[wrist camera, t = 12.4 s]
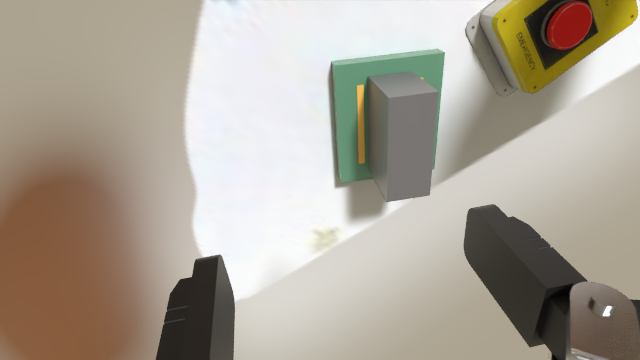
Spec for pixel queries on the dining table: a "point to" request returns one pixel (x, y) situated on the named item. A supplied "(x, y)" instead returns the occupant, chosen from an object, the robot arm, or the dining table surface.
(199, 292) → the robot arm
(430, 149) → the block
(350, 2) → the dining table surface
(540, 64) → the emergency button
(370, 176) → the header board
